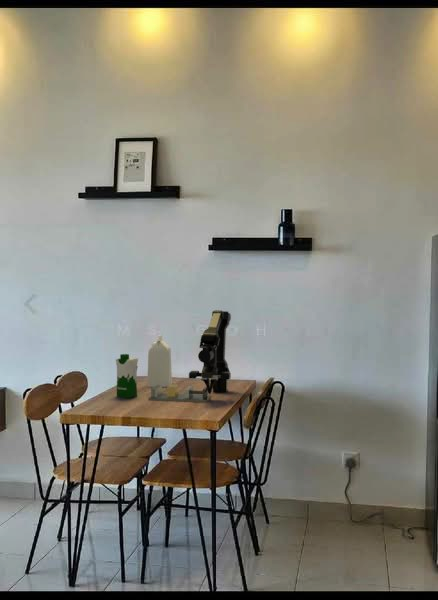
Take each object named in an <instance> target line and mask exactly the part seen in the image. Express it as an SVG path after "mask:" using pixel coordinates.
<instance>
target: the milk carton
mask: <svg viewBox="0 0 438 600" xmlns="http://www.w3.org/2000/svg"><path fill="white" fill-rule="evenodd" d="M138 362H139V358H137V357H136V358H135V357H130V354H128V353H123V354H122V353H121V354H120V358H118V357H117V358H116V359H115V363H116V364H115V365H116V398H122V399H131V398H135V397H137V396H138V391H137V390H138V387H137V386H138V385H137V382H138V380H137V379H138V378H137V375H138V374H137V373H138V372H137V371H138V367H137V366H138Z"/></svg>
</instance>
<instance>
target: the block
mask: <svg viewBox="0 0 438 600" xmlns="http://www.w3.org/2000/svg"><path fill="white" fill-rule="evenodd" d="M178 394H179V384H178V383H172V384H170V385H169V386H168V387H167V397H168V398H175V397H176V396H178Z"/></svg>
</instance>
